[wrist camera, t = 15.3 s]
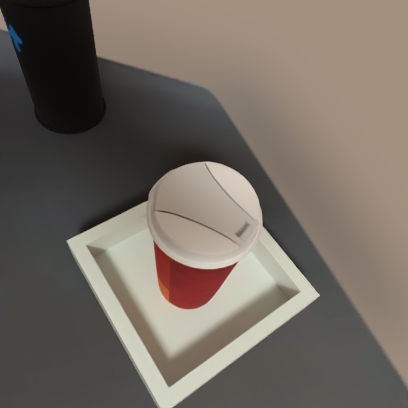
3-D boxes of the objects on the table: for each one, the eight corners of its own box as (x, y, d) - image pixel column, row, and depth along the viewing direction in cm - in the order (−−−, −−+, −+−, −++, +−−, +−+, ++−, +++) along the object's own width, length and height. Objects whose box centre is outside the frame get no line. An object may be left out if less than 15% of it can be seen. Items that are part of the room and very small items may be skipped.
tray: (74, 258, 37) (66, 240, 33) (209, 188, 43) (214, 167, 39) (162, 415, 31) (163, 413, 27) (304, 308, 37) (319, 295, 33)
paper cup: (243, 275, 37) (289, 199, 25) (195, 340, 33) (221, 287, 21) (180, 228, 39) (195, 135, 27) (128, 284, 35) (117, 207, 23)
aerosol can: (113, 91, 49) (93, -94, 32) (96, 140, 44) (62, -44, 27) (48, 80, 48) (-8, -113, 31) (24, 128, 44) (-55, -66, 27)
